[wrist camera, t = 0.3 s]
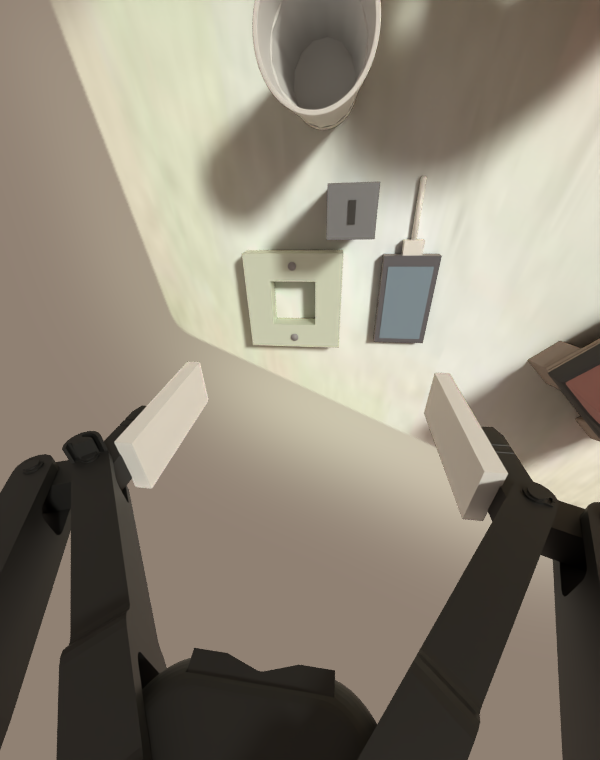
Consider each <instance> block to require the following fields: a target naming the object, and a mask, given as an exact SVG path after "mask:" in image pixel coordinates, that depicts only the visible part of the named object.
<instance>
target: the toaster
mask: <svg viewBox="0 0 600 760" xmlns="http://www.w3.org/2000/svg"><path fill="white" fill-rule="evenodd" d="M528 362H529V363H530V364H531V365H532V366H533V368H534V369H535V370H536V371H537V373H538V374H539V375H540V376H541V378H542V379H543V380H544V381H545V383H547V384H549V385H551V386H553V387H555V388H557V389H559V390H561V391H562V393H563V394H564V395H565V396H566V398H567V399H568V400H569V401H570V403H571V404H572V405H573V407H574V408H575V409H576V410H577V412H578V413H579V414H580V415H581V416H580V417H578V418H576V419H575V420H576V421H577V422H578V423H579V425H580V426H581V427H582V428H583V429H584V431H585V432H586V433H587V434H588V436H589V437H590V438H592V439H595V440H597V441H600V338H599V339H598V340H596V341H594V342H592V343H591V344H589V345H587V346H585V347H583V348H579V347H576V346H573V345H570V344H567V343H565V342H562V341H559V342H557V343H555V344H554V345H552V346H550V347H549V348H547V349H545V350H544V351H542V352H540V353H539V354H537V355H535V356H534V357H532V358H530V359H528Z"/></svg>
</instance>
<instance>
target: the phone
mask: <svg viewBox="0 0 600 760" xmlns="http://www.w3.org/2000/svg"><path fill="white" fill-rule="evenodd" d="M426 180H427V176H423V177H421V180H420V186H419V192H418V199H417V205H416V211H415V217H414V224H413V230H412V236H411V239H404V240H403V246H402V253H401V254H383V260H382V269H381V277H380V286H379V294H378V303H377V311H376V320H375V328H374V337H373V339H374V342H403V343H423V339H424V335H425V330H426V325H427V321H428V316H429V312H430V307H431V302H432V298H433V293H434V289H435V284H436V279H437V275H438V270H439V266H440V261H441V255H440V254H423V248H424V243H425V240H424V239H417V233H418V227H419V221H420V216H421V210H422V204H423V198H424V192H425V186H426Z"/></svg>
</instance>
